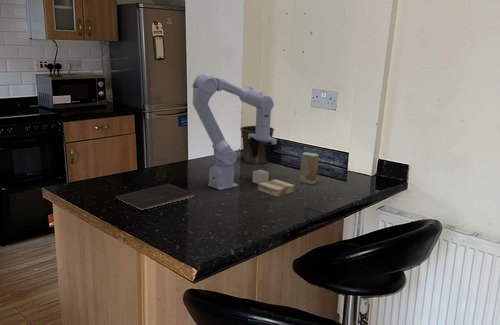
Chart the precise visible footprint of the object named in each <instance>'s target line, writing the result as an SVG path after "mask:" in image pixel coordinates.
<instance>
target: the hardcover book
mask: <svg viewBox="0 0 500 325" xmlns="http://www.w3.org/2000/svg"><path fill="white" fill-rule="evenodd" d="M195 195H196V193H195V192H193V191H190V190H187V189H184V188H182V187H179V186H177V185H173V184H171V183H165V184H161V185H157V186H153V187H149V188H145V189H141V190H137V191H133V192H129V193H124V194H121V195H116V196H115V197H114V199H115V198H117V199H119V200H121V201H123V202H125V203H127V204H130V205H132V206H134V207H136V208H138V209H140V210H144V209H149V208H153V207H157V206H161V205H165V204H168V203H172V202H176V201H180V202H182V201H181V200H183V201H186V200H185V199H187V200H190V199H193V198H192V197H194V198H195ZM189 198H190V199H189ZM176 203H177V202H176Z"/></svg>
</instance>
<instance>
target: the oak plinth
mask: <svg viewBox="0 0 500 325" xmlns="http://www.w3.org/2000/svg"><path fill="white" fill-rule="evenodd" d="M257 185H258V186H257V190H258V191H260V192H263V193H265V194H268V195H271V196H273V197H280V196H284V195H286V194H287V195H288V194H291V193H295V191H296V190H295V187H296V185H295V184H292V183H289V182H286V181H283V180H279V179H277V178H276V179H271V180H268V181H267V182H263V183H259V184H257Z"/></svg>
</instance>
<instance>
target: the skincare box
mask: <svg viewBox="0 0 500 325" xmlns="http://www.w3.org/2000/svg"><path fill="white" fill-rule="evenodd" d="M319 156H320V154H318V153H314V152H303V153H301V158H300V168H299V169H300V171H299V180H298V182H299V183H302V184H303V183H304V184H308V185H314V184H316V183H317V180H318V179H317V178H318V168H319V159H320V158H319Z"/></svg>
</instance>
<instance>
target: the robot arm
mask: <svg viewBox="0 0 500 325" xmlns="http://www.w3.org/2000/svg"><path fill="white" fill-rule="evenodd" d="M191 86H192V105H193V107H194V110H195V111H196V113H197V115H198V118H199V119H200V122H201V123H202V125H203V127H204V130H205V132H206V133H207V136H208V137H209V139H210V142H211V143H212V145H211V146H212V149H213V156H214V158H215V159H216V161H215V164H214V165H211V167H209V172H208V177H209V178H208V184H207V186H209V187H212V188H214V189H217V190H220V191H222V190H227V189H230V188H235V187H238V186H239V184H238V183H235V176H234V175H235V163H236V161H237V160H238V155H237V152H236V150H234V149H233V148H232V147H231V146H230V144H229V143H228V141H227V140H226V138H225V136H224V134H223V133H222V131H221V128H220V126H219V124H218V122H217V119H216V118H215V116H214V114H213V112H212V109H211V108H210V106H209V103H210V100H211V98H212V96H213V95H214V94H215V93H216V92H220V91H225V92H227V93H230V94H232V95H234V96H237V97H238V98H239V101H240V102H243V103H245V104H247V105H250V106H252V107H253V108H256V109H255V110H256V113H255V126H256V131H255V134H252V133H251V134H248V138H249V139H250V140H248V143H249V145H250V148H251V152H252V156H253V157H257V156H258V148H259V143H260V141H263V142H267V143H268V144H264V148H265V160H266V161H268V162H269V161H271V159H272V156H273V153H274V151H275V149H276V148H277V147H278V144H277V143H278V139H277V138H274V137H273V136H272V137H271V136H270V127H271V113H272V110H273V108H274V106H275V103H274V100H273V98H272V97H271V96H269V95H268V96H267V95H264V92H262V91H259V92H258V91H256V90H255V89H254V88H253V87H251V86H249V87H244V88H242V87H240V86H237V85H235V84H233V83H230V82H229V81H226V80H224V79H221V78H218V77H214V76H212V75H211V76H210V75H205V74H199V75H197V76H196V77H195V79H194V81H193V83H192V85H191Z"/></svg>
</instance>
